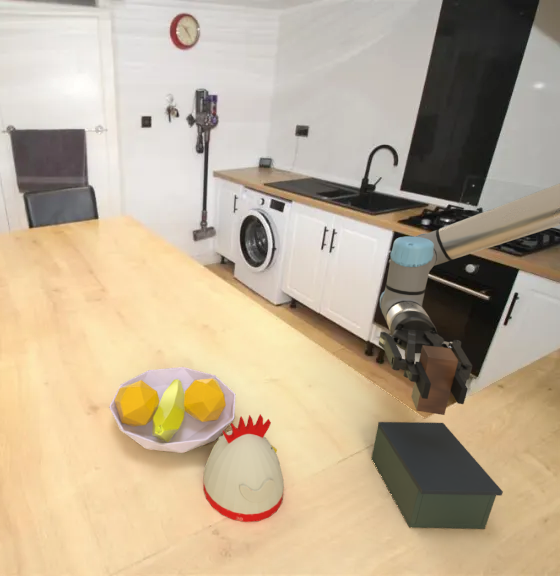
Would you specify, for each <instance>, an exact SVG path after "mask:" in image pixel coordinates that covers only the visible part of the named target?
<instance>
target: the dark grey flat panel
mask: <svg viewBox="0 0 560 576" xmlns="http://www.w3.org/2000/svg"><path fill="white" fill-rule="evenodd" d="M378 426H379V428H380V430H381V431H382V433H383V434H384V436H385V437H386V439H387V441H388V442H389V444H390V445H391V447H392V448H393V450H394V452H395V453H396V455H397V456H398V458H399V459H400V461H401V463H402V464H403V466H404V467H405V469H406V470H407V472H408V474H409V475H410V477H411V478H412V480H413V481H414V483H415V484H416V486H417V488H418V489H419V491H420V492H421V494H446V495H496V496H503V492H504V491H503V490H502V489H501V488H500V487H499V485H498V484H497V483H496V482H495V481H494V480H493V479H492V477H491V476H490V475H489V474H488V473H487V472H486V470H485V469H484V468H483V467H482V465H480V464H479V462H478V461H477V460H476V459H475V457H474V456H472V454H471V453H470V452H469V451H468V450H467V448H466V447H465V446H464V445H463V444H462V442H460V440H459V439H458V438H457V437H456V436H455V434H453V432H452V431H451V430H450V429H449V428H448V426H446V424H445V423H444V422H421V421H420V422H415V421H413V422H410V421H397V422H396V421H378V422H377V427H378Z"/></svg>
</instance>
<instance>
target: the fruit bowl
mask: <svg viewBox="0 0 560 576" xmlns="http://www.w3.org/2000/svg"><path fill="white" fill-rule="evenodd" d="M108 408H109V410H110V412H111V414H112V416H113V418H114V421H115V422H116V424H117V427H118V428H119V431H120V432H122V433H124V435H126V436H127V437H129V438H130V439H131V440H133V441H134V442H136V443H137V444H139V446H141V447H142V448H144V449H145V450H152V451H161V452H172V453H179V454H184V453H187V452H189V451H192V450H194V449H197V448H199V447H202V446H206V445H208V444H210V443H213V442H215V441H216V440H218V438H219V437H220V436H221V435H222V434H223V431H222V430H224V431H225V430H226V429H227V428H228V427H229V426H230V425H231V423H232V422H233V421H234V420H235V411H236V393H235V392H234V391H233V390H232V389H231V388H230V387H229V386H228V385H227V384H225V383H224V382H223V381H222V380H221V379H220V378H219V377H217V375H216V374H211V373H209V372H204V371H200V370H197V369H193V368H189V367H186V366H185V367H184V366H180V367H179V366H178V367H169V368H157V369H156V368H155V369H148V370H146V371H143V372H142V373H140V374H138V375H136V376H135V377H132V378H129V379H128V380H126V381H125V382H124V381H123V383H120V385H119V387H118V388H117V390H116V393H115V394H114V397H113V398H112V400H111V402H110V405H109V406H108Z"/></svg>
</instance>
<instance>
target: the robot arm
mask: <svg viewBox="0 0 560 576" xmlns="http://www.w3.org/2000/svg"><path fill="white" fill-rule="evenodd" d="M558 226H560V183H556V184H555V185H552V186H549V187H546V188H544V189H541V190H538V191H536V192H534V193H533V192H532V193H530V194H527V195H525V196H523V197H520V198H517V199H515V200H512V201H509V202H506V203H504V204H501V205H499V206H496V207H494V208H491V209H488V210H486V211H483V212H480V213H477V214H475V215H472V216H469V217H467V218H464V219H461V220H459V221H456V222H454V223H451V224H448V225H445V226H443V227H440V228H439V229H436V230H433V231H430V232H427V233H420V234H418V235H416V236H412V235H411V236H409V235H408V236H400V237H398V238H395V240H394V241H393V244H392V249H391V251H390V254H389V256H390V258H389V259H390V260H389V266H388V271H387V279H386V283H385V287H384V290H383V292H381V294H380V297H379V308H380V312H381V314H382V315H383V317H384V320H385V322H386V324H387V327H388V330H389V332H390V334H389V333H388V332H386V331H380V334H379V338H378V346H380V347H381V348H382V349H383V350H384V353H385V355H386V358H387V360H388V362H389V365H390V367H391V369H392V370H393V371H400V370H402V371H403V377H404V378H406V379H408V381H410V382H412V383H414V382H415V383H416V385H417V387H418V390H419V392H420V395H421V397H422V398H424V399H428V395H429V391H430V386H431V382H430V380H429V378H428V376H427V374H426V372H425V370H424V368H423V366H422V364H421V362H419V361H416V354H421V350H422V345H425V346H434V347H443V348H450V349H451V350H452V352H453V353H454V355H455V356H456V358H457V359H458V364H457V368H456V372H455V375H454V379H453V383H452V387H451V391H450V393H451V394H452V396H453V398H454V400H455V401H456V403H457V404H458V405H464V404H465V401H466V397H467V393H468V390H469V388H468V387H467V381H469V380H470V377H471V374H472V369H473V364H472V363H471V361H470V359H469V358H468V357H467V356H468V355H466V353H465V351H464V350H463V348H462V341H461V340H459V339H453V341H445V339H444V338H443V337H442V336H440V335H439V334H438V331H437V328H436V326H435V324H434V323H433V322H432V320H431V317H430V316H429V315H428V313H427V312H426V310H425V308H424V307H423V301H424V297H425V293H426V287H427V283H428V278H429V274H430V271H431V270H432V269H433V267H434V266H437V265H441V264H444V263H447V262H449V261H452V260H455V259H458V258H462V257H464V256H468V255H470V254H474V253H477V252H481V251H483V250H487V249H489V248H492V247H495V246H499V245H502V244H506V243H508V242H511V241H514V240H518V239H521V238H524V237H527V236H530V235H533V234H536V233H540V232H543V231H546V230H549V229H552V228H555V227H558ZM400 349H401V350H403V351H404V358H403V355H402V354H401V351H400Z"/></svg>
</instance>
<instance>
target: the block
mask: <svg viewBox="0 0 560 576" xmlns="http://www.w3.org/2000/svg"><path fill="white" fill-rule="evenodd" d="M419 354H420V355H419V360H418V362H421V364H422V366H423V368H424V370H425V372H426V374H427V376H428V378H429V380H430V382H431V386H430V391H429V395H428V399H424V398H422V397H421V395H420V392H419V390H418V387H417V385H416V383H415V382H413V387H412V392H411V397H410V398H411V399H412V403H413V405H414V408H415V410H416V411H417V412H422V413H429V414H435V415H440V416H441V415H442V416H445V414H446V410H447V408H448V407H447V406H448V403H449V398H450V395H451V387H452V383H453V379H454V375H455V372H456V368H457V364H458V359H457V358H456V356H455V355H454V353H453V352H452V350H451V349H450V348H443V347H434V346H425V345H422V350H421V353H419Z"/></svg>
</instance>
